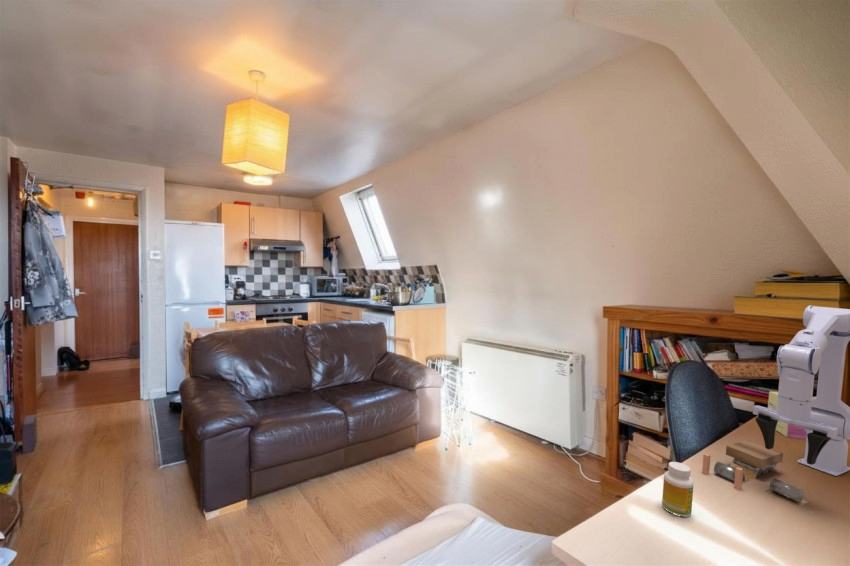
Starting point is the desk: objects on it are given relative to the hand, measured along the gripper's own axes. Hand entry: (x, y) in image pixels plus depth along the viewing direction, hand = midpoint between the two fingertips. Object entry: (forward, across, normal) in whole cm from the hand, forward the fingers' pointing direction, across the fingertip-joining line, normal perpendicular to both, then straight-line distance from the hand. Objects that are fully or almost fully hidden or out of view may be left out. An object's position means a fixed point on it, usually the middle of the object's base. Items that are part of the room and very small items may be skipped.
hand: (789, 455), depth 91 cm
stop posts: (+10, -10, -7) cm, 16 cm away
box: (+10, -20, +48) cm, 53 cm away
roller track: (+10, -5, +4) cm, 12 cm away
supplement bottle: (+10, -7, -30) cm, 32 cm away
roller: (+10, 0, 0) cm, 10 cm away
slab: (+7, -10, +8) cm, 14 cm away
